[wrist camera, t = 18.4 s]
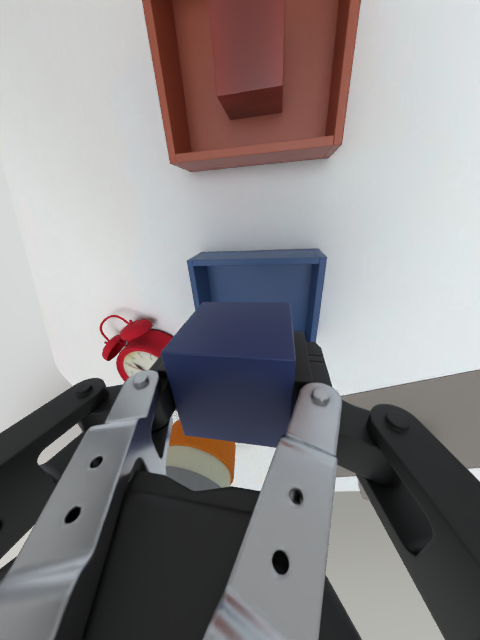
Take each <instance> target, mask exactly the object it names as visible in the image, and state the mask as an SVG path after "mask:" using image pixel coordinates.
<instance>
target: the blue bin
mask: <svg viewBox="0 0 480 640" xmlns="http://www.w3.org/2000/svg"><path fill="white" fill-rule="evenodd" d="M326 260H327V257H326V256H325V255H324V254H323V253H322V252H321V251H320V250H319V249H290V250H257V251H224V252H201V253H199V254H198V255H196V256H194V257H192V258H191V259H189V260H187V264H188V270H189V276H190V281H191V287H192V293H193V299H194V305H195V310H197V308H198V307H199V306H200V305H201V304H202V302H273V303H290V305H291V315H292V325H293V331H303V332H304V335H305V340H306V341H307V342H315V343H316V336H317V328H318V321H319V313H320V306H321V298H322V291H323V283H324V275H325V268H326Z"/></svg>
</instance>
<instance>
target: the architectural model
mask: <svg viewBox="0 0 480 640" xmlns="http://www.w3.org/2000/svg"><path fill="white" fill-rule="evenodd" d="M341 399H343V400H344V401H346V402H347V403H350V404H352V405H354V406H357V407H360V408H363V409H366V410H369V411H371V409H372V407H374V406H375V405H378V404H391V405H395V406H398V407H400V408H403V409H404V410H406V411H408V412H410V413H411V414H412V415H414V416H415V417H416V418H417V419H418V420H419V421H420V422H421V423H422V424H423V425H424V426H425V427H426V428H427V429H428V430H429V431H430V432H431V433H432V434H433V435H434V436H435V437H436V438H437V439H438V440H439V441H440V442H441V443H442V444H443V445H444V446H445V447H446V448H447V449H448V450H449V451H450V452H451V453H452V454H453V455H454V456H455V457H456V458H457V459H458V460H459V461H460V462H461V463H462V464H463V465H464V466H465V467H466V468H467V469H470V468H480V370H477V371H471V372H466V373H461V374H456V375H451V376H445V377H440V378H435V379H430V380H425V381H419V382H414V383H409V384H404V385H398V386H393V387H388V388H383V389H378V390H372V391H367V392H362V393H357V394H352V395H346V396H341ZM349 476H356V474H355V473H354V472H351V471H349V470H347V469H345V468H343V467H341V466H339V465H337V470H336V477H349ZM357 480H358V486H359V490H360V493H361V495H362V498H363V499H365V500H369V498H368V496H367V494H366V492H365V491H364V489H363V487H362V485H361V483H360V481H359V479H358V478H357Z"/></svg>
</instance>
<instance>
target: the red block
mask: <svg viewBox="0 0 480 640" xmlns="http://www.w3.org/2000/svg"><path fill="white" fill-rule="evenodd" d="M209 8H210V21H211V33H212V46H213V58H214V71H215V83H216V96H217V98H218V100H219V101H220V103H221V105H222V107H223V108H224V110H225V112H226V114H227V115H228V117H229V119H230V120H235V119H241V118H248V117H255V116H262V115H269V114H276V113H282V109H283V71H284V32H285V0H209Z"/></svg>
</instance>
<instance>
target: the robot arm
mask: <svg viewBox="0 0 480 640" xmlns="http://www.w3.org/2000/svg"><path fill="white" fill-rule="evenodd" d="M293 335H294V346H295V356H296V367H295V380H294V393H293V405H292V416H291V419H290V422H289V425H288V428H287V431H286V433H285V435H282V436H281V438H280V440H279V442H278V445H277V448H276V450H275V453H274V456H273V459H272V461H271V464H270V467H269V470H268V473H267V475H266V478H265V481H264V484H263V486H262V489H261V491H256V490H250V489H244V488H238V487H232V486H231V487H223V488H216V489H209V490H202V491H193V490H190V489H189V488H187V487H185V486H183V485H182V484H180V483H178V482H176V481H175V480H173V479H171V478H170V477H168V476H166V460H167V454H168V448H169V442H170V436H171V430H172V424H173V420H172V414H173V412H174V410H176V411H177V408H176V404H175V401H174V397H173V394H172V391H171V387H170V384H169V380H168V377H167V373H166V370H165V366H164V363H163V359H162V356H161V355H160V357H159V358H158V359H157V360H156V361H155V363H154V364H153V365H152V366H151V368H150V369H149V370H144V371H140V372H137V373H135V374H133V375H132V376H130V377H129V378H128V379H127V380H126V381H125V382H124V384H123V385H117V386H111V387H106V385H105V383H104V381H103V380H102V379H100V378H91V379H87V380H84V381H82V382H80V383H78V384H76V385H74V386H73V387H71V388H70V389H68V390H66V391H65V392H63V393H62V394H60V395H59V396H57V397H56V398H54V399H53V400H51V401H50V402H48V403H46V404H45V405H43V406H42V407H40V408H39V409H37V410H36V411H34V412H33V413H31V414H30V415H28V416H26V417H25V418H23V419H22V420H20V421H19V422H17V423H16V424H14V425H12V426H11V427H9V428H8V429H6V430H5V431H3V432H2V433H0V559H1V558H2V557H3V556H4V555H5V554H6V553H7V552H8V551H9V550H10V549H11V548H12V547H13V546H14V545H15V543H17V542H18V541H19V539H21V538H22V537H23V536H24V535H25V534H26V533H27V532H28V531H29V530H30V529H31V528H32V527H33V526H34V527H33V529H32V531H31V533H30V534H29V536H28V538H27V540H26V542H25V543H24V545H23V547H22V549H21V551H20V552H19V554H18V556H17V557H15V558H14V559H13V560H11V561H10V562H9V563H7V564H6V565H5V566H4V567H2V568H1V569H0V640H362V639H361V637H360V635H359V633H358V632H357V630H356V628H355V627H354V625H353V623H352V621H351V619H350V617H349V616H348V614H347V612H346V610H345V608H344V607H343V605H342V603H341V602H340V600H339V598H338V596H337V594H336V592H335V591H334V589H333V587H332V585H331V584H330V582H329V580H328V578H327V577H326V575H325V573H326V564H327V554H328V545H329V535H330V527H331V517H332V508H333V499H334V489H335V480H336V470H337V465H339V466H341V467H343V468H345V469H347V470H349V471H351V472H354V473H355V474H356V476H357V478H358V479H359V481H360V483H361V485H362V487H363V489H364V491H365V492H366V494H367V496H368V498H369V500H370V502H371V504H372V505H373V507H374V509H375V511H376V513H377V515H378V516H379V518H380V520H381V522H382V524H383V526H384V527H385V529H386V531H387V533H388V535H389V537H390V539H391V541H392V542H393V544H394V546H395V548H396V550H397V552H398V553H399V555H400V557H401V559H402V561H403V563H404V565H405V566H406V568H407V570H408V572H409V574H410V576H411V578H412V579H413V581H414V583H415V585H416V587H417V589H418V590H419V592H420V594H421V596H422V598H423V600H424V602H425V603H426V605H427V607H428V609H429V611H430V612H431V615H432V616H433V618H434V620H435V622H436V624H437V626H438V627H439V629H440V631H441V633H442V635H443V637H444V639H445V640H480V482H479V481H478V479H477V478H476V477H475V476H474V475H473V474H472V473H471V472H470V471H469V470H468V469H467V468H466V467H465V466H464V465H463V464H462V463H461V462H460V461H459V460H458V459H457V458H456V457H455V456H454V455H453V454H452V453H451V452H450V451H449V450H448V449H447V448H446V447H445V446H444V445H443V444H442V443H441V442H440V441H439V440H438V439H437V438H436V437H435V436H434V435H433V434H432V433H431V432H430V431H429V430H428V429H427V428H426V427H425V426H424V425H423V424H422V423H421V422H420V421H419V420H418V419H417V418H416V417H415V416H414V415H412V414H411V413H410V412H408V411H406V410H404V409H403V408H400V407H398V406H395V405H391V404H378V405H375V406H374V407H372V409H371V411H369V410H366V409H363V408H360V407H357V406H354V405H352V404H350V403H347V402H346V401H344V400H343V399H341V396H340V395H339V393H338V392H337V391H336V390H335V389H334V388H332V384H331V381H330V377H329V374H328V371H327V367H326V364H325V360H324V357H323V353H322V350H321V348H320V347H319V346H318V345H317V344H316V343H315V342H307V341H306V340H305V335H304V332H303V331H293ZM77 423H78V425H79V426H80V428H81V430H82V431H83V432H82V433H81V434H80V435H79V436H78V437H77V438H75V439H74V440H73V441H72V442H70V443H69V444H68V445H67V446H66V447H64V448H63V449H62V450H61V451H60V452H58V453H57V454H56V455H55V456H54V457H52V458H51V459H50V460H49V461H48V462H46V463H44V464H42V465H38V463H37V459H38V457H39V455H40V453H41V452H42V451H43V450H44V449H45V448H46V447H47V446H49V445H50V444H51V443H52V442H54V441H55V440H56V439H57V438H59V437H60V436H61V435H63V434H64V433H65V432H66V431H67V430H68V429H70V428H71V427H73V426H74V425H75V424H77Z"/></svg>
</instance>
